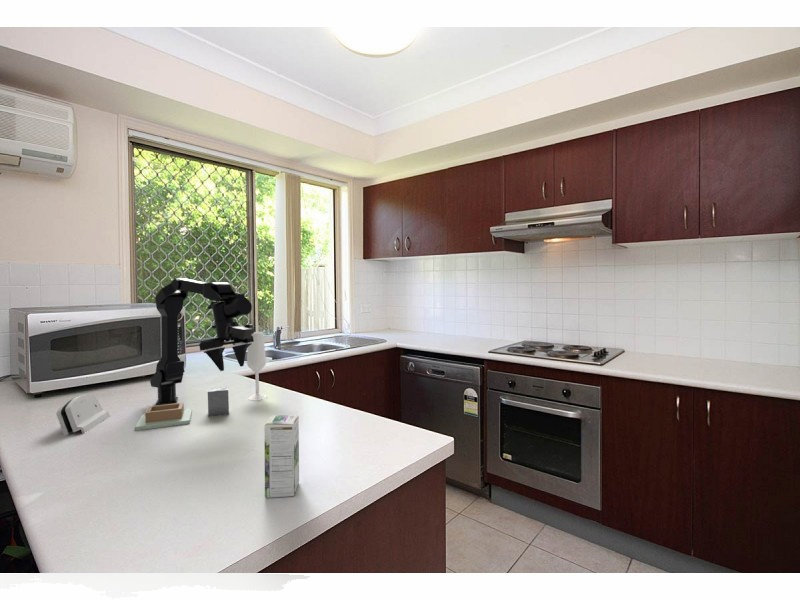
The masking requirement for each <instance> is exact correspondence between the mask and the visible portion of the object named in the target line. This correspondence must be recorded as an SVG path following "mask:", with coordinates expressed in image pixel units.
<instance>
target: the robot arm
mask: <svg viewBox="0 0 800 600" xmlns="http://www.w3.org/2000/svg"><path fill="white" fill-rule="evenodd" d="M189 293H193V294H199V295H202V297H203V298H205V299H207V300H209V301H211V302H210V304H209V305H208V306H207V310H211V311H212V315H213V320H214V321H213V322H214V325H212V326H211V328H212V329H213V330H214V329H215V332H216V337H215V338H210V339H205V340H201V341H200V342H199V345H198V346H199V351H200V352H201V351H203V354H206V355H207V357H209V358H210V360H211V361H212V362H213V363H214V364H215V366H216V368H218V370H219V371H220V372H224V371H225V364H224V363H225V362H224V357H223V356H224V355H223V354H224V351H225V348H226V347H224V346H228V345H233V346H232V350H233V352H234V356H235V358H236V360H237V363H238V366H240V367H244V365H245V360H246V359H245V358H246V354H247V351H248V347H249V345H251V344H252V343H250V342H254V340H253V336H252V335H251V334H253V333H254V332H255V328H254V324H252V323H249V324H248V323H246V324H245V325H244V326H242V325H239V323H238V321H235V319H237V318H238V317H243V316H247V315H249V314H251V312H252V308H253V305H252V303H251V301H250V300H249V299H248V298H247V297H246V296H245V293H236V291H235V290H234V289H233V288H232V287H231V284H230V283H229V282H225V281H223V282H219V281H218V282H217V281H216V282H211V281H210V282H204V281H198V280H195V279H189V278H187V277H185V278H184V277H180V278H179V277H177V278H174V279H173V280H171V282H170V283H168V284H167V285H166V286H165V285H164V286H163V287H162V288H161V289H160V290H159V291H158V292H157V294H156V295H155V299H154V300H155V305H156V310H157V311H158V313H159V314H160V315H161V357H160V359H159V361H158V362H157V363H156V367H155V368H156V369H155V373H154V374H153V375H152V377H151V378H150V379H149V383H150V386H151V387H152V388H157V400H156V402H155V406H156V405H166V404H175V403H178V399H179V397H178V396H177V384H181V383H182V382H183V378H184V373H185V362H184V360H181V358H180V357H179V354H178V353H179V349H178V348H179V336H178V335H179V334H178V332H179V331H178V330H179V321H178V320H179V315H180V313H181V312H182V310H183V309H184V308H183V307H184V302H185V300H186V299H188V297H189ZM248 343H249V344H248Z"/></svg>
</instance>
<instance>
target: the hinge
mask: <svg viewBox="0 0 800 600" xmlns="http://www.w3.org/2000/svg"><path fill="white" fill-rule="evenodd" d="M109 416H110V417H111V414H110V413H109V411H108V410H105V409H103V407H102V405H101V403H100V402H99V400H98V398H97V396H96V395H95V394H91V393H89V394H82V395H78V396H77V397H74V398H71V399H69V400H67V401H66V402H65V403H63V404H62V405H60V407H59V408H58V409H57V410H56V417H57V419H58V422H59V425H60V428H61V430H62V433H63V435H64V436H68V435H70V434H72V433H76V432H78V431H80V430H81V433H82V434H83V433H85V432H87V431H88V432H89V431H91V430H92V429H94V428H95V427H97V426H98V425H100V424H101V423H103V422H104V421H105V420H104V419H106V418H107V417H109ZM110 417H109V418H110ZM107 419H108V418H107ZM107 419H106V420H107ZM103 420H104V421H103ZM102 421H103V422H102ZM100 422H101V423H100ZM99 423H100V424H99ZM97 424H98V425H97ZM96 425H97V426H96ZM94 426H95V427H94ZM93 427H94V428H93ZM90 429H91V430H90ZM88 432H87V433H88ZM85 434H86V433H85Z"/></svg>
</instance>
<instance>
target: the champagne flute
mask: <svg viewBox="0 0 800 600" xmlns="http://www.w3.org/2000/svg"><path fill="white" fill-rule="evenodd" d="M251 335H252V336H253V340H254V342H250V343H252V344H251V345H249V347H248V348H247V356H246V358H247V359H246V365H247V367H248V368H249V369H250V370H252V372H254V373H255V374H254V376H255V393H254V394H252V395H250V397H248V398H247V400H248V399H249V400H248V401H252V400H256V401H262V400H261V399H263V400H265V399H264V398H266V396H267V395H265V394H262V393H261V392H260V381H259V380H260V378H259V375H260V374H259V372H260V371H262V369H264V367H265V366H266V364H267V357H266V349H265V348H266V347H265V340H264V332H262V331H254V333H253V334H251ZM248 344H249V343H248ZM266 399H267V398H266Z"/></svg>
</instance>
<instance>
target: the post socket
mask: <svg viewBox="0 0 800 600" xmlns="http://www.w3.org/2000/svg"><path fill="white" fill-rule="evenodd" d="M184 405H185V404H184V402H176V403H167V404H158V405H156V404H155V405H150V406H148V408H147V409H146V411H145V413H142V415H141V417H140V418H139V419H138V421H137V422H136V424H135V426H134V431H140V430H149V429H156V428H164V427H173V425H174V426H181V425H180V424H182V425H188V423H189V424H190V423H191V420H190V419H192V414H193V408H185V409H184V407H185V406H184Z"/></svg>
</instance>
